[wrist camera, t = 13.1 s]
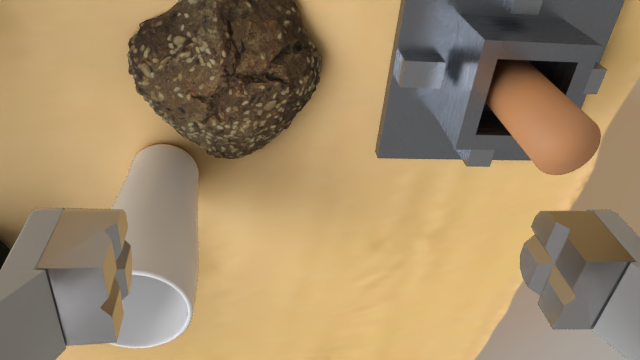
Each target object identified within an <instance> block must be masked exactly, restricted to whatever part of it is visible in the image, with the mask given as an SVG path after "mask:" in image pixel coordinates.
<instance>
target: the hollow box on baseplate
mask: <svg viewBox="0 0 640 360" xmlns="http://www.w3.org/2000/svg"><path fill="white" fill-rule="evenodd" d="M623 3H624V0H401V5H400V11H399V17H398V23H397V28H396V34H395V40H394V46H393V52H392V57H391V63H390V69H389V75H388V81H387V86H386V92H385V98H384V104H383V110H382V115H381V121H380V127H379V133H378V139H377V144H376V150H375V152H376V155H377V158H402V159H462V160H463V161H464V163H465V165H466V166H483V167H490V164H491V161H492V160H531V159H530V158H529V156H528V155H527V154H526V153H525V151H524V150H523V149H522V148H521V146H520V145H519V144H518V143H517V141H516V140H515V139H514V138H513V136H512V135H511V134H510V133H509V131H508V130H507V129H506V128H505V126H504V125H503V124H502V123H501V121H500V120H499V119H498V118H497V116H496V115H495V114H494V112H493V111H492V110H491V109H490V107H489V106H488V105H487V104H486V102H485V101H486V97H487V94H488V90H489V87H490V84H491V80H492V77H493V73H494V70H495V66H496V63H497V59H511V60H528V61H529V62H530V63H531V64H532V65H533V66H534V67H535V68H536V69H537V70H538V71H539V72H541V73H542V74H543V75H544V76H545V77H546V78H547V79H548V80H549V81H550V82H551V83H553V84H554V85H555V86H556V87H557V88H558V89H559V90H560V91H561V92H562V93H563V94H565V95H566V96H567V97H568V98H569V99H570V100H571V101H572V102H573V103H574V104H575V105H576V106H578V107H579V108H580V109H581V107H582V104H583V102H584V99H585V97H586V94H597V92H598V90H599V87H600V85H601V82H602V80H603V78H604V75H605V73H606V70H607V69H606V68H604V67H603V66H602V65H600V64H599V62H600V60H601V57H602V55H603V52H604V50H605V47H606V45H607V42H608V40H609V38H610V35H611V33H612V30H613V28H614V25H615V23H616V20H617V18H618V15H619V13H620V10H621V8H622V5H623Z"/></svg>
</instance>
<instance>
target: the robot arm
mask: <svg viewBox="0 0 640 360" xmlns="http://www.w3.org/2000/svg"><path fill="white" fill-rule="evenodd" d="M531 227H532V230H533V232H534V234H535V235H534V236H532V237H531V238H530V239H529V240H527V241H526V242H525V243H524V246H523V248H522V251H521V254H520V270H521V273H522V277H523V279H524V281H525V283H526V284H527V286H528V287H529V288H530V289H531V290H533V291H535V292H536V293H537V294H539V295H540V297H539V301H538V305H539V307H540V309H541V310H542V312H543V313H544V315H545V317H546V319H547V321H548V322H549V324H550V326H551V327H552V329H593V330H592V332H594V333H595V334H596V335H597V336H599V337H600V338H601V339H603V341H605V342H606V343H607V344H608V345H610V346H611V347H612V348H613V349H615V350H616V351H617V352H618V353H619V354H621V355H622V356H623V357H624V358H626V359H627V360H640V237H639V236H638V235H637V234H636V233H635V232H634V231H633V229H632V228H631V227H630V226H629V225H628V224H627V223H626V222H625V221H624V220H623V219H622V218H621V216H620V215H619V214H618V213H616V212H614V211H612V210H586V211H540V212H539V213H538V214H537V215H536V216H535V218H534V221H533V223H532V225H531ZM127 230H128V223H127V217H126V213H125V211H124V210H123V209H87V208H66V209H65V208H37V209H35V210H33V211H32V212H31V213H30V215H29V217H28V219H27V221H26V223H25V225H24V227H23V228H22V230H21V232H20V234H19V236H18V238H17V240H16V242H15V243H14V245H13V247H12V249H11V251H10V253H9V255H8V257H7V258H6V260H5V262H4V264H3V266H2V268H1V270H0V360H55V359H56V358H57V357H58V356H59V355H60V354H61V353H62V352H63V351H64V350H65V349H66V346H69V345H86V344H104V343H117V340H118V336H119V332H120V328H121V324H122V320H123V315H124V310H123V304H122V300H123V299H124V298H125V297H126V296H128V295H129V290H130V286H131V279H132V268H133V266H132V250H131V245H130V244H129V243H128V242H127V241H126V240H125V237H126V233H127Z"/></svg>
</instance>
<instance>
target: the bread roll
mask: <svg viewBox="0 0 640 360" xmlns="http://www.w3.org/2000/svg"><path fill="white" fill-rule="evenodd" d="M139 26H140V29H139V31H138V34H136V35H134V37H133V38H130V41H129V43H128V45H129V48H130V51H129V52H128V54H127V56H128V58H129V59H128V62H129V73H130V75H132V74H133V78H134V79H135V84H136V90H137V93H138V94H140V95H143V98H144V100H145V101H148V102H149V103H150V106H151V107H152V108H153V109H154V111H155V112H156V114H158V115H159V116H162V118H163V120H164V121H166V123H169V124H170V125H171V126H172V127H174V128H175V129H176V131H177V132H178V133H179V134H181V135H182V136H183V137H184V138H187V139H189V140H190V141H192V142H195V143H196V144H198V145H199V147H200V148H203V149H205V150H207V153H208V154H209V155H212V154H213V155H214V156H215V157H218V158H227V159H235V158H240V157H243V156H245V155H248V154H251V153H252V152H254V151H256V150H258V149H261V148H263V147H264V146H265V145H266V144H268V143H270V141H271V140H272V139H273V138H275V137H277V135H279V134H280V133H281V131H282V130H283V129H287V128H288V127H289V125H290V124H291V121H292V119H293V118H294V117H295V116H296V114H297V113H298V112H299V111H301V110H302V108H303V107H304V106H305V104H306V103H307V102H308V101H309V100H310V98H311V95H312V93H313V92H314V91H315V90H316V85H317V84H318V82H319V76H318V73H319V72H321V64H322V56H321V55H320V54H319V52H318V51H317V48H316V46H315V44H314V43H313V42H312V41H311V40H310V39H309V37H308V36H307V32H306V30H305V28H304V27H303V26H302V22H301V15H300V12H299V10H298V8H297V6H296V4H295V2H294V1H293V0H178V3H177V4H175V5H174V6H173V7H172V8H171V9H170V10H169V11H168V12H166V13H164V14H162V15H160V16H158V17H157V18H153V19H149V20H146V21H144V22H142V23H141V24H139Z"/></svg>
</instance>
